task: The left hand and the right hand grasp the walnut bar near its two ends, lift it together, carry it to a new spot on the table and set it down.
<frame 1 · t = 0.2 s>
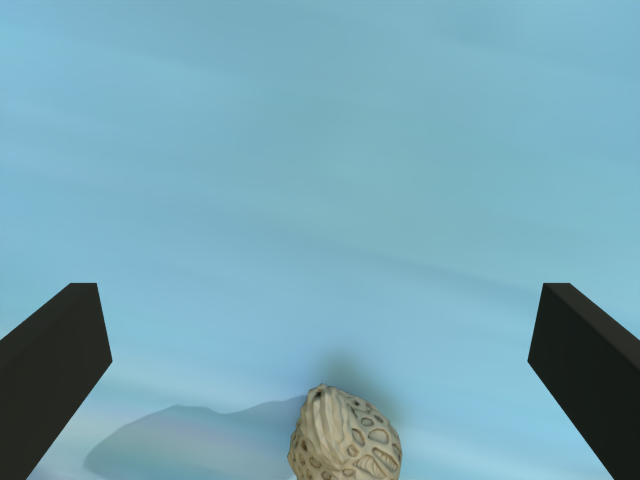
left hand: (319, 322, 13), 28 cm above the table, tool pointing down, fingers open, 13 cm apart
teapot: (343, 419, 49), on the table
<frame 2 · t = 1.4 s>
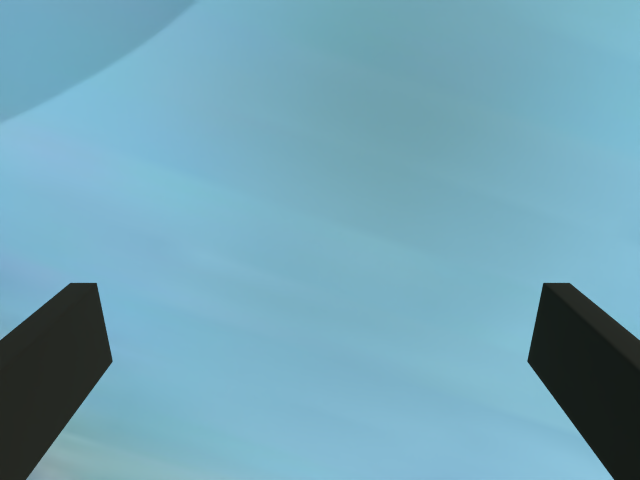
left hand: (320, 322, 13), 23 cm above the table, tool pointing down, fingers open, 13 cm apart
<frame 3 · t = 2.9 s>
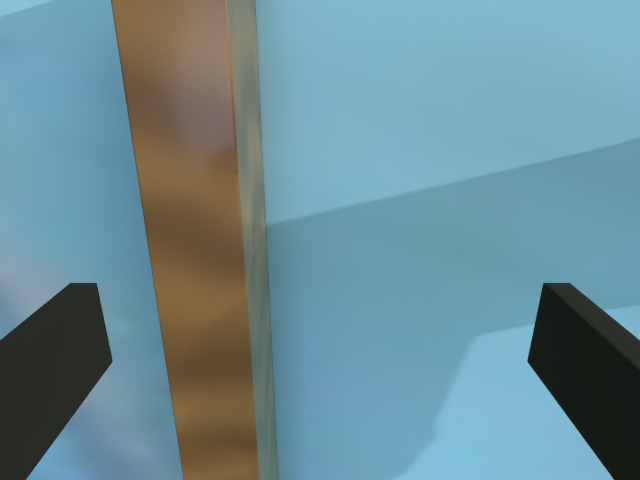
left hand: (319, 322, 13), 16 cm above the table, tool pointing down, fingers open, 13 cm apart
bar: (247, 438, 35), on the table, touching right hand
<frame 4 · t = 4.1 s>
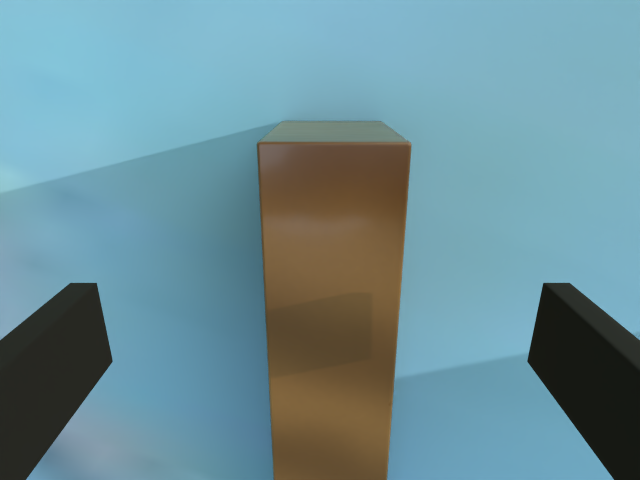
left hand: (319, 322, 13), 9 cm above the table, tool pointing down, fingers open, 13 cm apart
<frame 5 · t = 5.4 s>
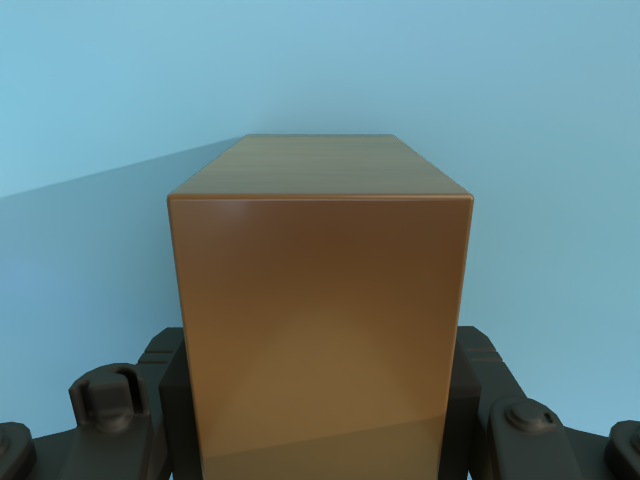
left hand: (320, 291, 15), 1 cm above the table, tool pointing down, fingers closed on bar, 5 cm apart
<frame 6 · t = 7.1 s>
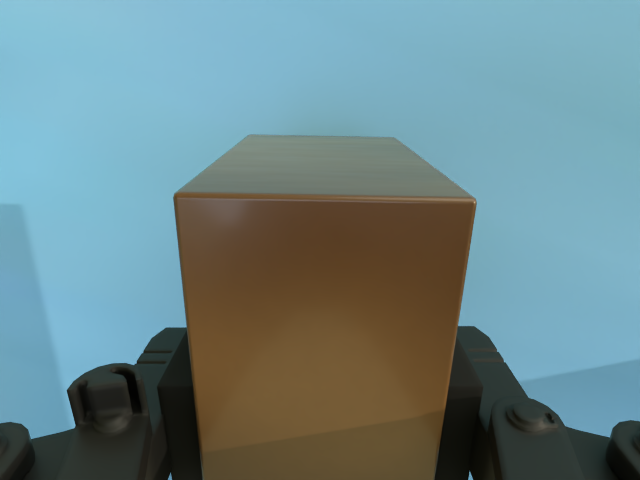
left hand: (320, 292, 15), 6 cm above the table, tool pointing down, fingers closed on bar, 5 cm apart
when the left hand's fingers open (3 cm above the table, at t = 9.2 s): bar drops 2 cm, on the table.
when the right hand's fingers open (3 cm above the table, at t = 9.2 s): bar drops 2 cm, on the table.
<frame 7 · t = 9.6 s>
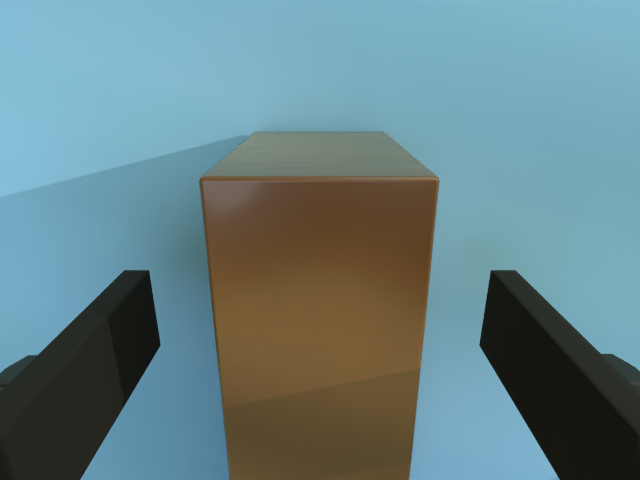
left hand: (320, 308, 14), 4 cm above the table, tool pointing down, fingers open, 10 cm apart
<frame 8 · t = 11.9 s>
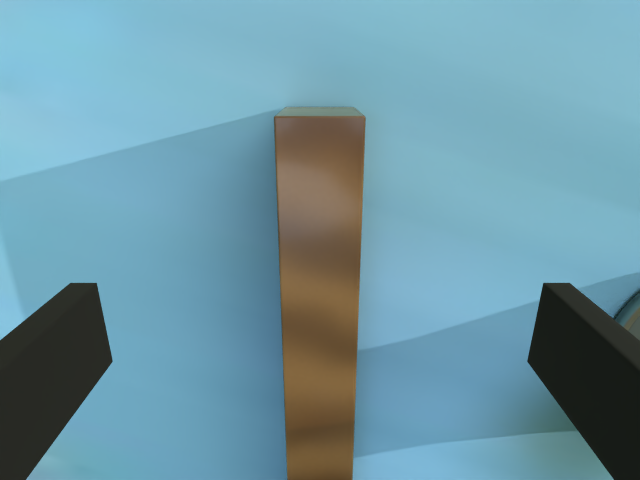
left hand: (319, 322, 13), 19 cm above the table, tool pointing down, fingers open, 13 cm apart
bar: (319, 471, 40), on the table
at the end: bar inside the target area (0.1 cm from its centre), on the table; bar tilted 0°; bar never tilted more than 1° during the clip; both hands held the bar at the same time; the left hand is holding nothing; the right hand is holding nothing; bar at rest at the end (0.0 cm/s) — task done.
